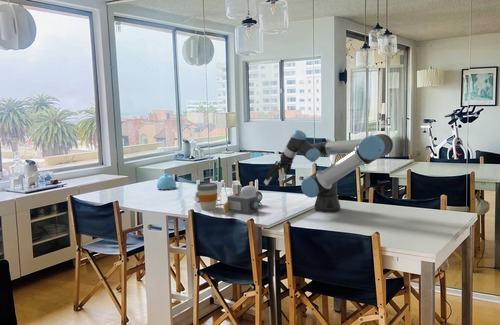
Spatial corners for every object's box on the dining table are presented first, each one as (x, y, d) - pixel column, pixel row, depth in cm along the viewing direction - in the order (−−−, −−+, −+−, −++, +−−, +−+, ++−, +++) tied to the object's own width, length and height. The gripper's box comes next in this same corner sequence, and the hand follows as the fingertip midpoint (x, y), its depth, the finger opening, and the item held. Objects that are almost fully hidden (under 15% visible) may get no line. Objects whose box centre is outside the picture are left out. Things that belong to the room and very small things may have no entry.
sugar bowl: (170, 186, 379) (169, 172, 378) (180, 188, 368) (179, 173, 366) (153, 188, 370) (152, 174, 368) (163, 191, 358) (162, 176, 357)
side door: (225, 214, 271) (225, 204, 271) (223, 214, 272) (223, 204, 271) (229, 209, 282) (228, 200, 281) (227, 209, 282) (227, 200, 281)
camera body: (261, 211, 278) (260, 194, 277) (251, 214, 271) (250, 197, 270) (237, 207, 290) (237, 192, 289) (227, 211, 283) (227, 194, 282)
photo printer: (253, 203, 301) (252, 184, 299) (257, 204, 297) (256, 185, 296) (240, 205, 295) (239, 186, 294) (243, 207, 292) (242, 187, 290)
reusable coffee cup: (221, 206, 297) (220, 182, 295) (214, 210, 285) (213, 186, 283) (202, 205, 300) (201, 182, 298) (195, 210, 288) (193, 186, 286)
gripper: (296, 149, 282) (281, 176, 292) (270, 152, 264) (255, 181, 274) (305, 156, 279) (289, 183, 289) (279, 160, 260) (263, 189, 270)
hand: (272, 182), depth 281 cm, fingers open, 13 cm apart
